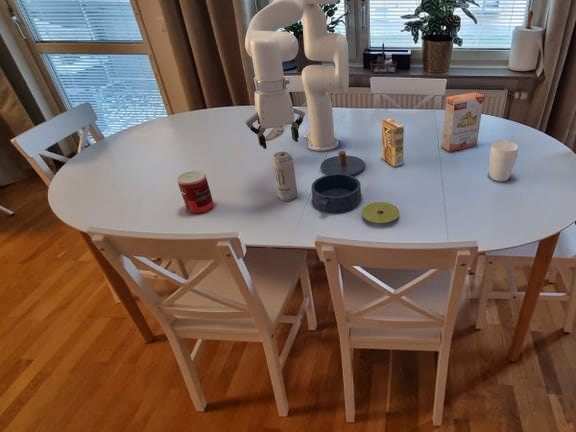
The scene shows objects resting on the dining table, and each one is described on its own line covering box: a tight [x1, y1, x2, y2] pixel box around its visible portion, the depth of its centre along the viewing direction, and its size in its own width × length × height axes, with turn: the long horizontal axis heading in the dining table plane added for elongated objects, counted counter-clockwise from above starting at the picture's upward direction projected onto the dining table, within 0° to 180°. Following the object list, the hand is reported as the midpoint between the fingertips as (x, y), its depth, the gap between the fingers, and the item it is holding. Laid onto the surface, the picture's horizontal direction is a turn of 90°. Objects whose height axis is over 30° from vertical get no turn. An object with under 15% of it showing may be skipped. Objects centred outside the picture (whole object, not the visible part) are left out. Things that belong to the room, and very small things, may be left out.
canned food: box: [176, 170, 214, 215], centre depth 119 cm, size 8×8×11 cm
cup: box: [489, 140, 519, 182], centre depth 135 cm, size 9×9×12 cm
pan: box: [310, 172, 362, 214], centre depth 124 cm, size 15×21×6 cm
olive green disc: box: [361, 201, 400, 224], centre depth 117 cm, size 11×11×2 cm
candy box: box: [381, 118, 405, 168], centre depth 145 cm, size 9×4×15 cm, turn 33°
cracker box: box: [441, 91, 485, 153], centre depth 154 cm, size 14×6×21 cm, turn 117°
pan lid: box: [320, 150, 366, 176], centre depth 143 cm, size 16×16×6 cm
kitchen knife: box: [265, 126, 283, 141], centre depth 174 cm, size 21×2×5 cm
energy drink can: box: [272, 151, 298, 202], centre depth 123 cm, size 6×6×15 cm
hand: (280, 143), depth 117 cm, fingers open, 9 cm apart
